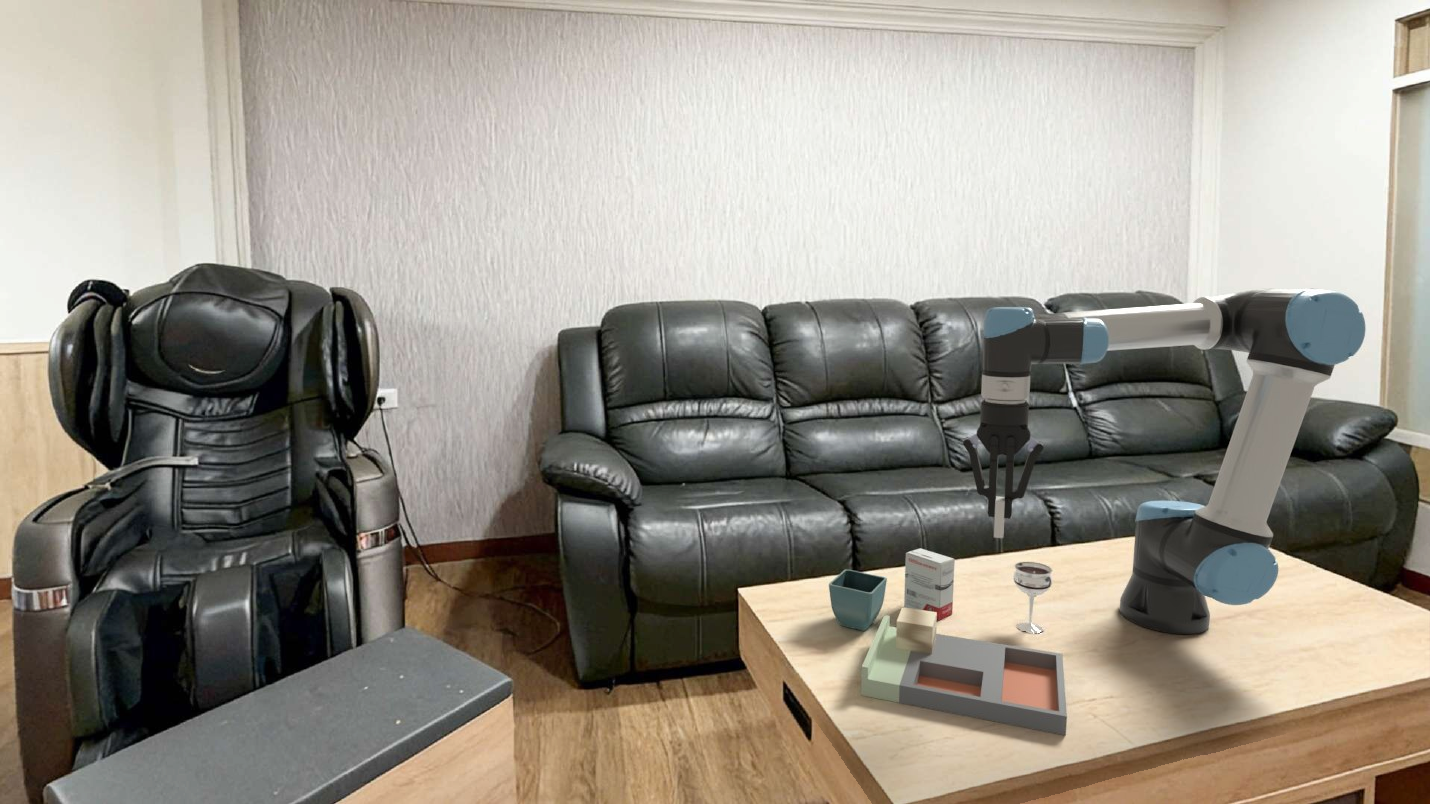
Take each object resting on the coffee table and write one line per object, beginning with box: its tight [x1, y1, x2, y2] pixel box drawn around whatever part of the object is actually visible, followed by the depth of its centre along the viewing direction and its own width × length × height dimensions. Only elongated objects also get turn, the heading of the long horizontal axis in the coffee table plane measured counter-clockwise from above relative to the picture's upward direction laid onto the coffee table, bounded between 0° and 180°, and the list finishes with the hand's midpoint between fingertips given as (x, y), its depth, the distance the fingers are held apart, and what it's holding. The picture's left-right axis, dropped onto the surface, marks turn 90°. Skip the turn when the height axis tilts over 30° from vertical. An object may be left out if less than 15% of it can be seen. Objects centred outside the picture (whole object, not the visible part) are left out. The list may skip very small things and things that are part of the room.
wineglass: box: [1013, 561, 1053, 635], centre depth 143 cm, size 7×7×12 cm
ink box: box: [903, 547, 955, 621], centre depth 152 cm, size 8×5×12 cm, turn 39°
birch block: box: [896, 606, 938, 654], centre depth 132 cm, size 6×6×5 cm
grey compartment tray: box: [860, 614, 1068, 736], centre depth 125 cm, size 30×20×5 cm, turn 67°
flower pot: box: [828, 569, 888, 632], centre depth 146 cm, size 9×9×9 cm
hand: (998, 535), depth 130 cm, fingers closed
